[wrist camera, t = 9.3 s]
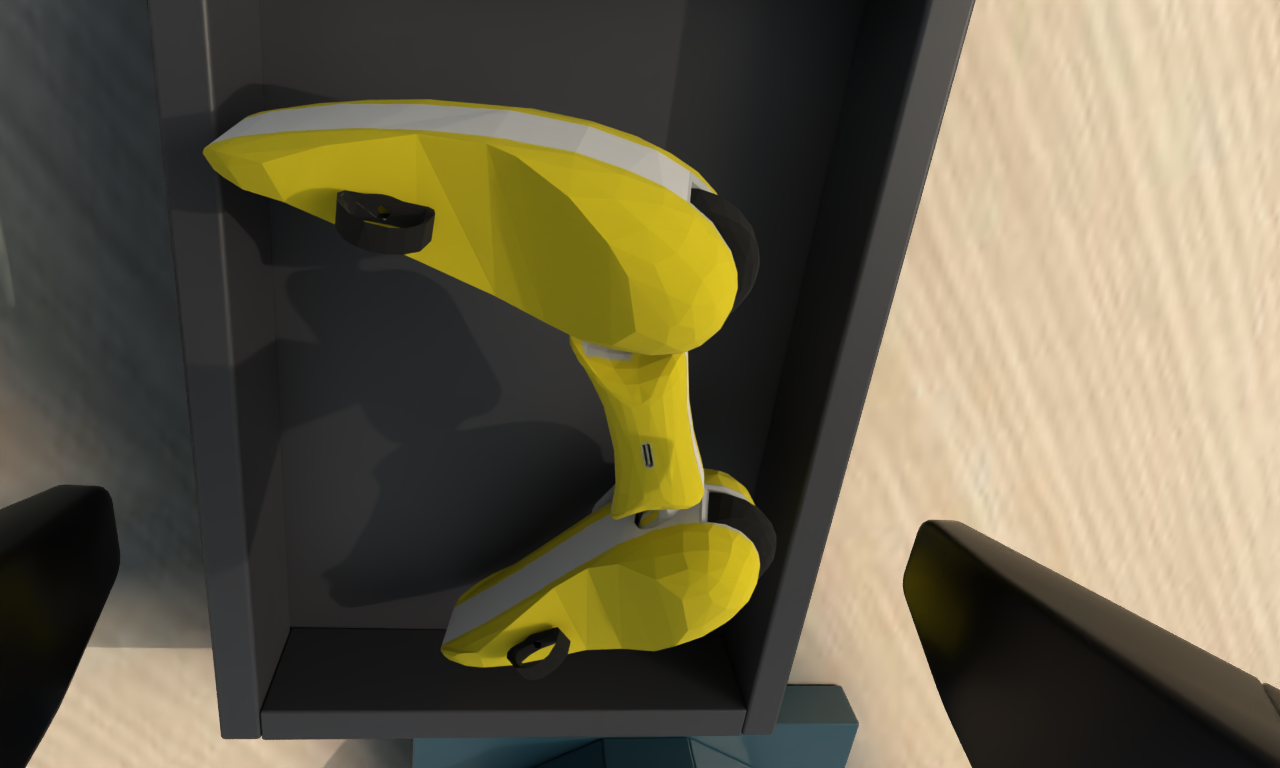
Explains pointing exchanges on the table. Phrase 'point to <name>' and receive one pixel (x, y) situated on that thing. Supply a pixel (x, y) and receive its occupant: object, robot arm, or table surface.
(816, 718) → the dock switch
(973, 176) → the table surface
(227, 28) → the tray
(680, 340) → the yellow curved piece
